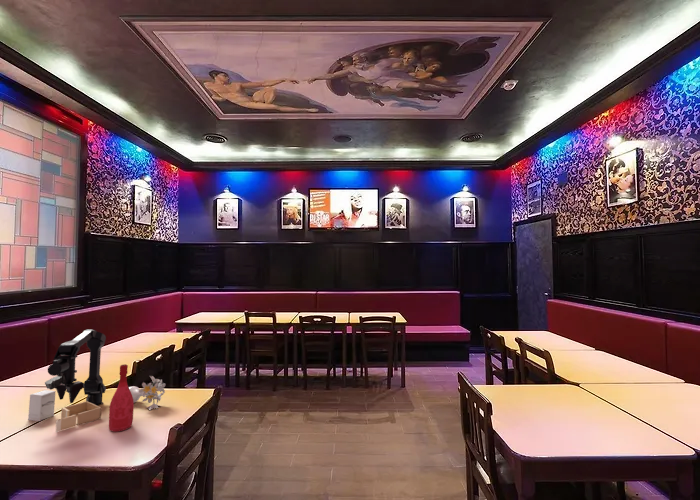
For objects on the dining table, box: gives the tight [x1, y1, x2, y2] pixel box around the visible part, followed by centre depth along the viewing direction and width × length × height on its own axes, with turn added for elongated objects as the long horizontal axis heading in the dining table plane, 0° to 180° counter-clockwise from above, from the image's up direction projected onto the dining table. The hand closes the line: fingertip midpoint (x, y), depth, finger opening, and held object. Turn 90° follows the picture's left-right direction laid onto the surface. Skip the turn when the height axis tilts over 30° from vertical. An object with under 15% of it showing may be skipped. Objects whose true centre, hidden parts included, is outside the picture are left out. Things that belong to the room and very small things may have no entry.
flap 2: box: [55, 415, 77, 433], centre depth 167 cm, size 1×8×5 cm, turn 149°
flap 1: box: [60, 407, 70, 419], centre depth 177 cm, size 1×7×5 cm, turn 58°
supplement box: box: [27, 389, 57, 422], centre depth 180 cm, size 7×7×13 cm
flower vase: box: [128, 375, 166, 411], centre depth 199 cm, size 13×18×25 cm
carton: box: [63, 400, 102, 427], centre depth 180 cm, size 10×16×6 cm, turn 58°
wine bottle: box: [108, 364, 135, 433], centre depth 170 cm, size 10×10×30 cm
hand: (66, 401), depth 173 cm, fingers open, 9 cm apart
